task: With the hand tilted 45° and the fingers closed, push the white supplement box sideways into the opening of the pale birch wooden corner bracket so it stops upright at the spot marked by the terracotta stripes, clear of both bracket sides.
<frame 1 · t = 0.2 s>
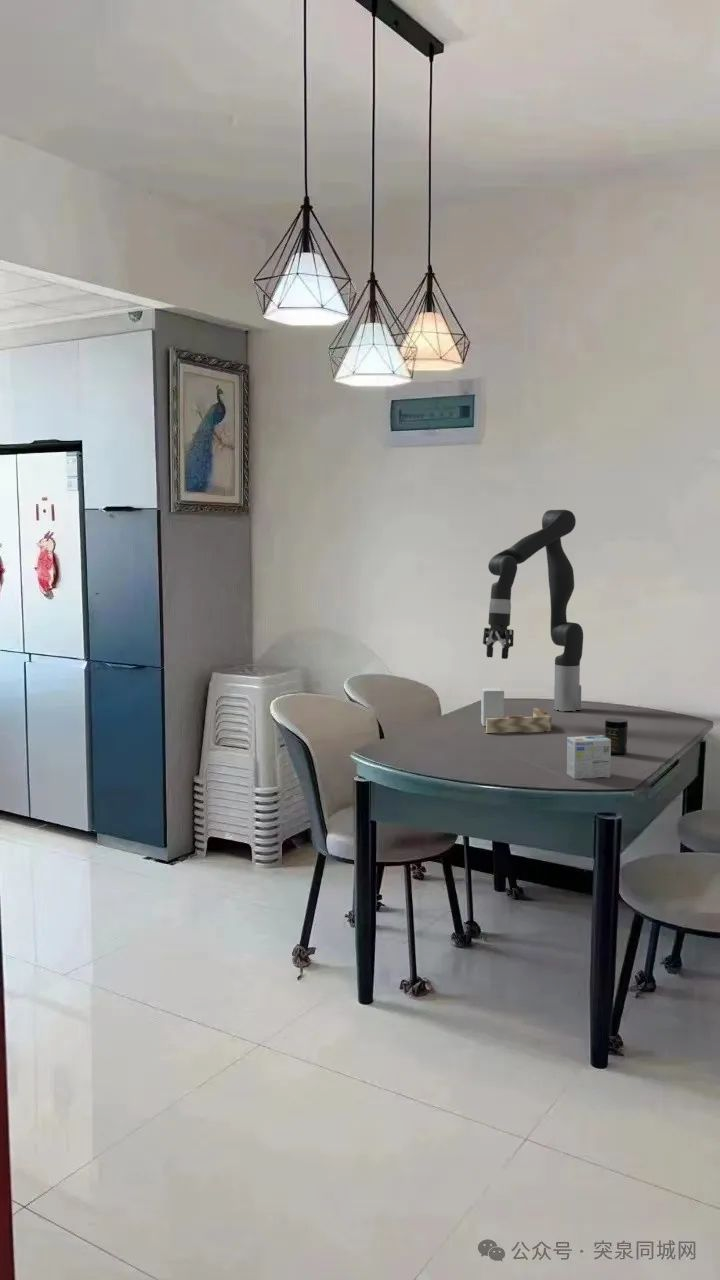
hand: (496, 658, 346), 23 cm above the table, tool pointing down, fingers open, 8 cm apart
light bulb box: (588, 776, 272), on the table
wooden corner bracket: (549, 731, 332), on the table
supplement box: (492, 725, 343), on the table
supplement container: (615, 754, 298), on the table
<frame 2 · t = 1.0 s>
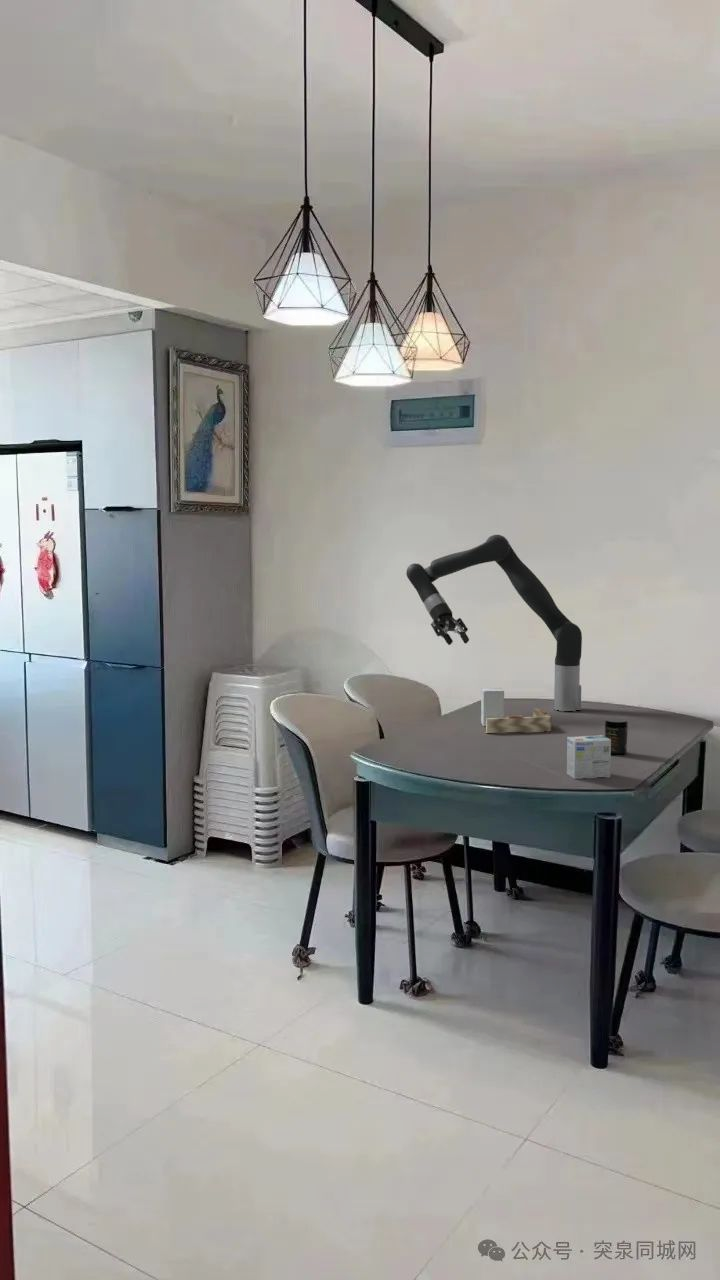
hand: (459, 642, 355), 27 cm above the table, tool tilted 45°, fingers open, 8 cm apart
nothing on the table moved.
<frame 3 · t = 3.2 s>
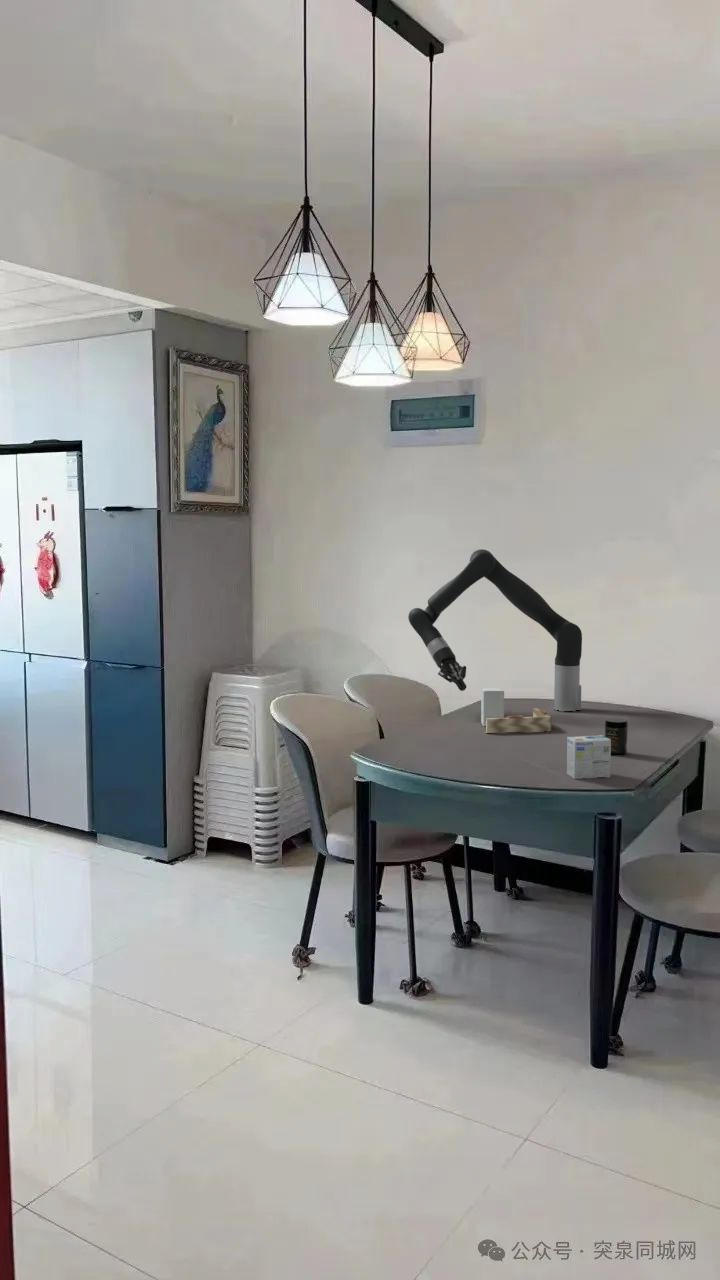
hand: (463, 689, 353), 11 cm above the table, tool tilted 45°, fingers closed
nothing on the table moved.
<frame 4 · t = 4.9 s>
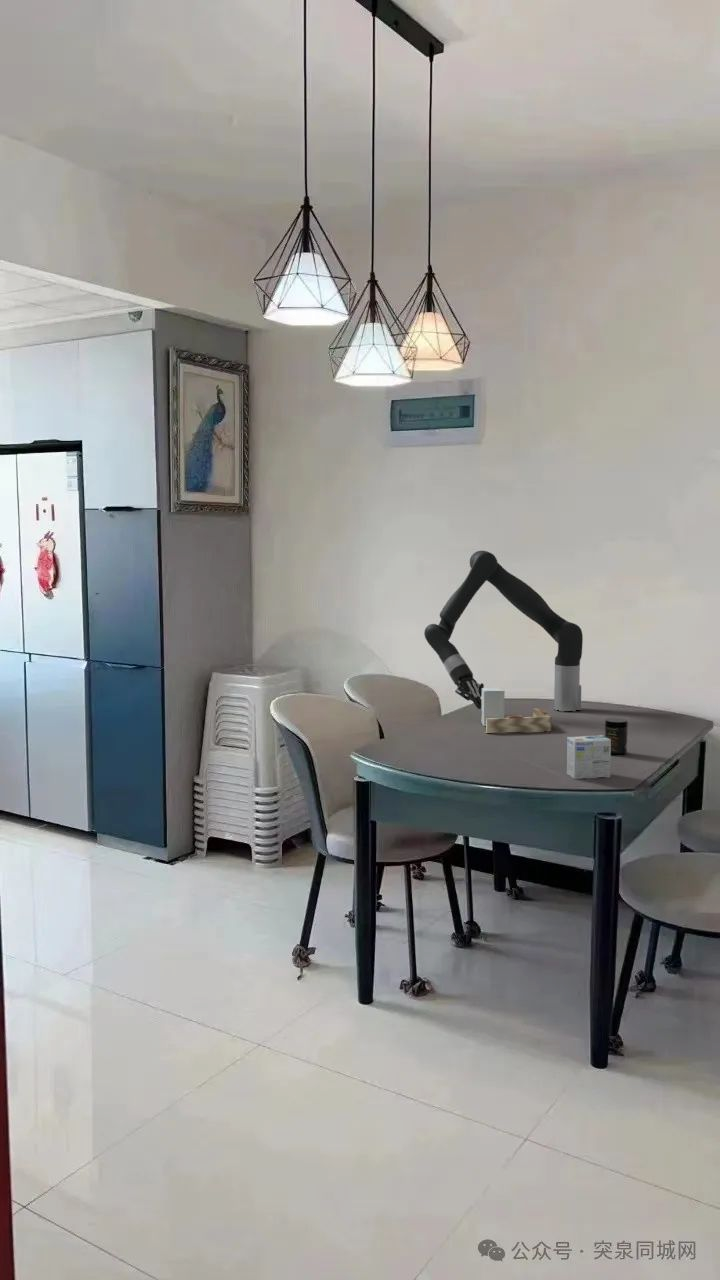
hand: (481, 707, 347), 5 cm above the table, tool tilted 45°, fingers closed
supplement box: (492, 725, 343), on the table, touching gripper
everything else where it was.
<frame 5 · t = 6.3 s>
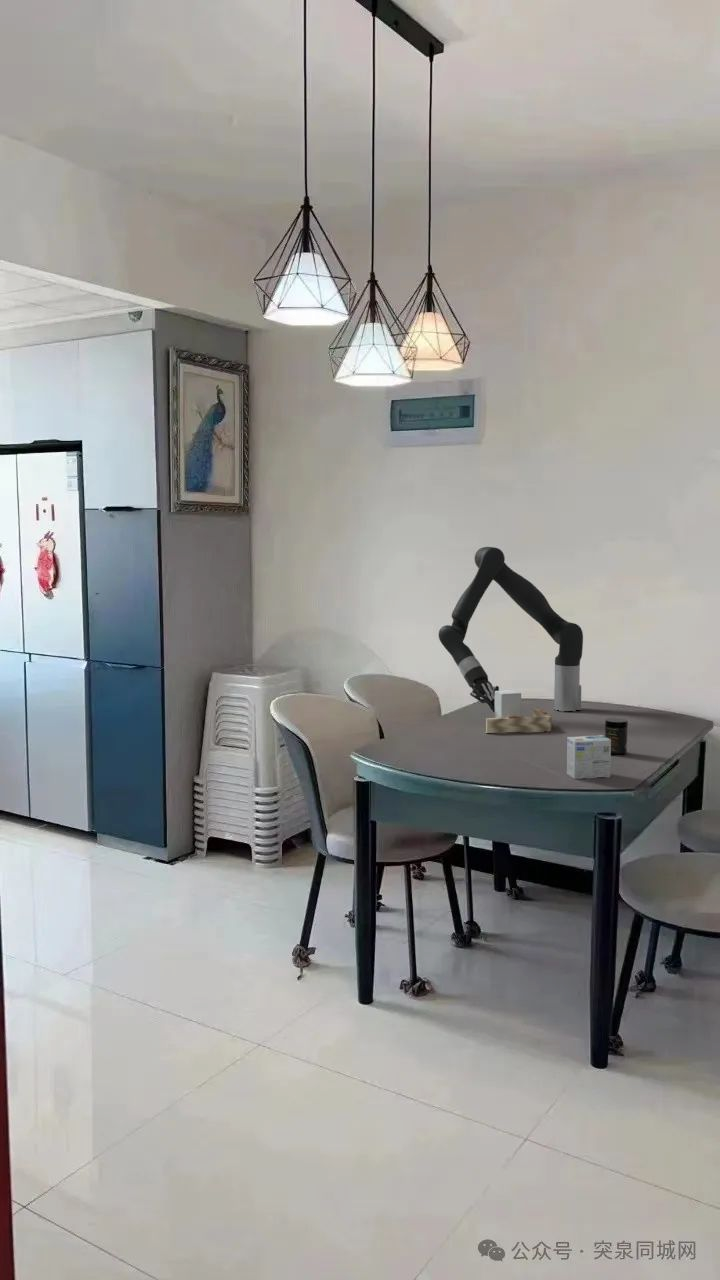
hand: (497, 710, 341), 5 cm above the table, tool tilted 45°, fingers closed
supplement box: (507, 728, 338), on the table, touching gripper
everything else where it was.
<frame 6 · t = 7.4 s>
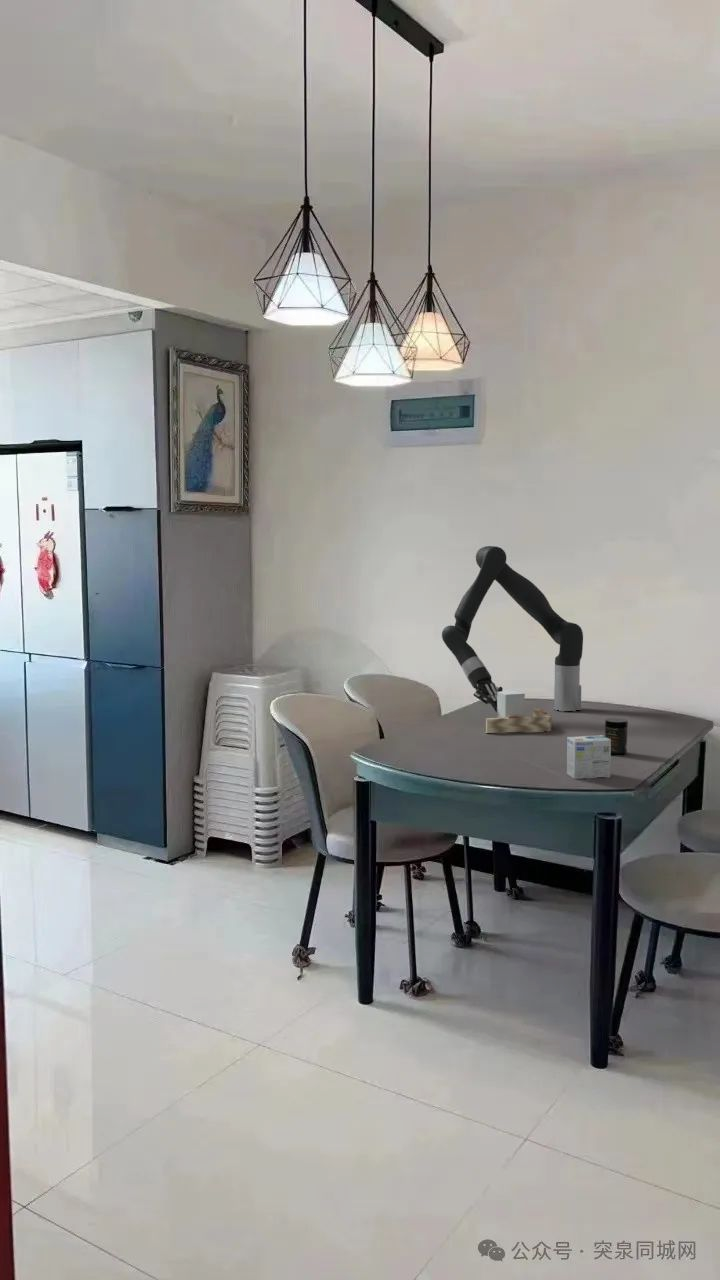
hand: (500, 711, 339), 5 cm above the table, tool tilted 45°, fingers closed
supplement box: (510, 729, 336), on the table, touching gripper
everything else where it was.
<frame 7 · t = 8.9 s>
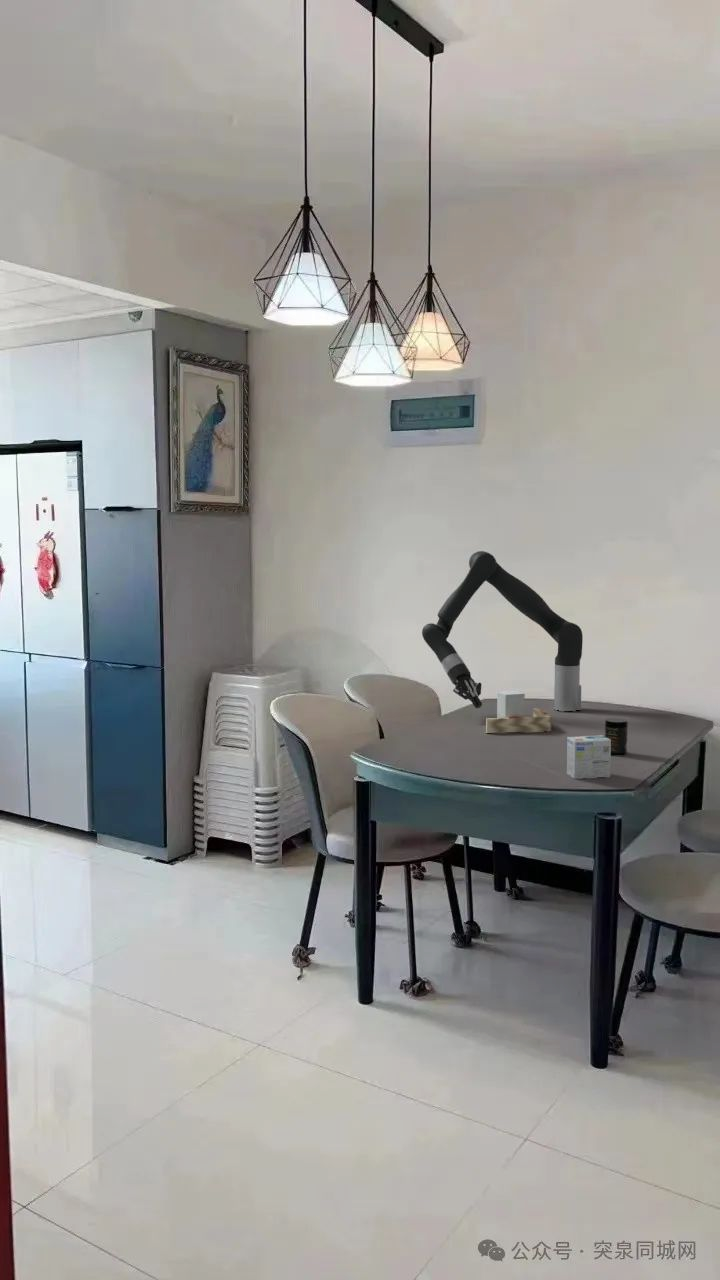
hand: (479, 706, 348), 5 cm above the table, tool tilted 45°, fingers closed
supplement box: (510, 729, 336), on the table
everything else where it was.
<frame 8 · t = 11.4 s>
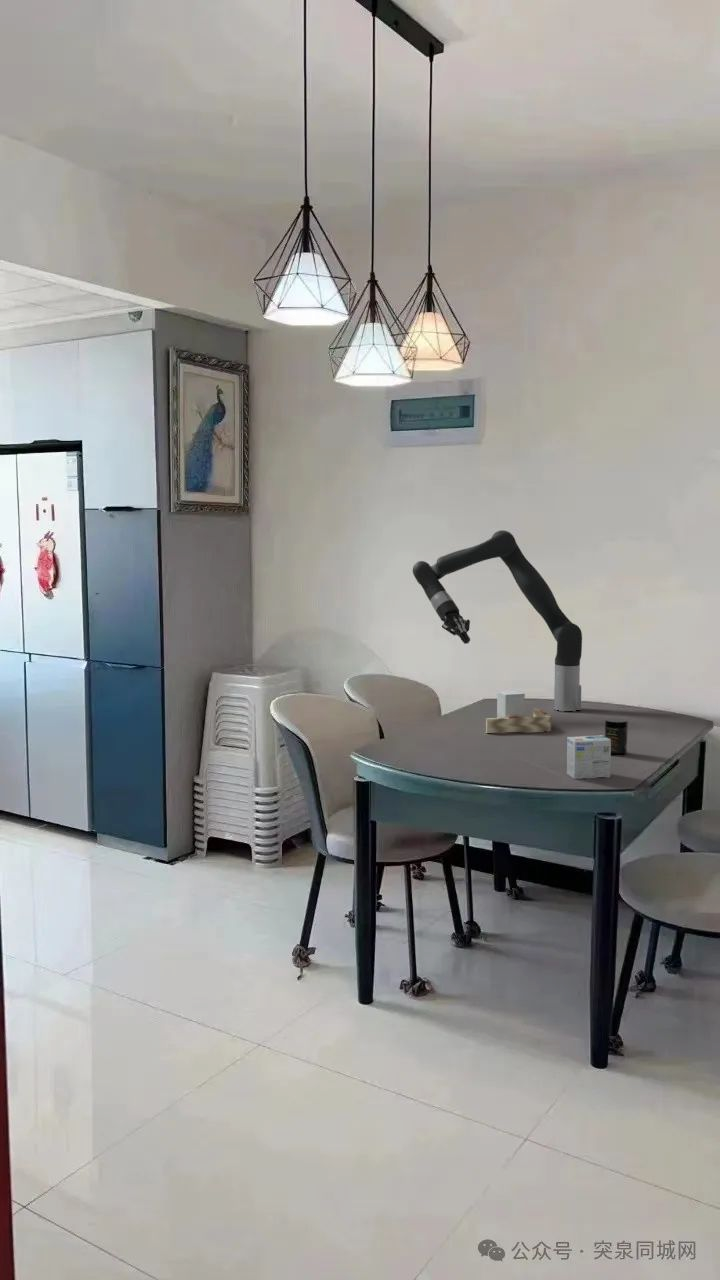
hand: (467, 642, 351), 28 cm above the table, tool tilted 45°, fingers closed
nothing on the table moved.
at the end: supplement box inside the target area (1.0 cm from its centre), on the table; supplement box tilted 0°; supplement box touching table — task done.
